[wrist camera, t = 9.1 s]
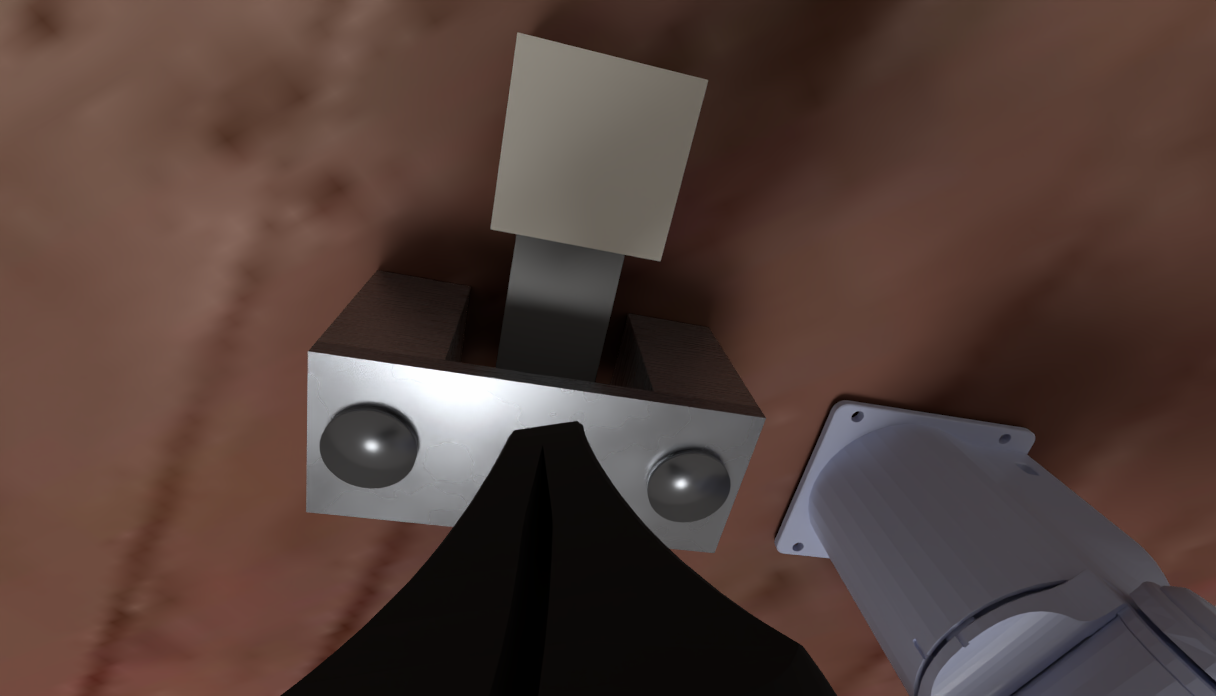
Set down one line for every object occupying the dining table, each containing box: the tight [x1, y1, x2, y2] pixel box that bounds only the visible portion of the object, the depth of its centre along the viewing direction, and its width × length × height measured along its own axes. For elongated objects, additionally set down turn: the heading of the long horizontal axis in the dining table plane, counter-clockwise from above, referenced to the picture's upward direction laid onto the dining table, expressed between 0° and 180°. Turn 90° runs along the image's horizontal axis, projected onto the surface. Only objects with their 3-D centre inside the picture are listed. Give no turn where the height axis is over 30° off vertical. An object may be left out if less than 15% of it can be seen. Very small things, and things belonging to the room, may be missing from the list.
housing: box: [306, 270, 766, 553], centre depth 19 cm, size 12×5×7 cm, turn 78°
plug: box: [490, 32, 708, 382], centre depth 19 cm, size 4×17×5 cm, turn 167°
